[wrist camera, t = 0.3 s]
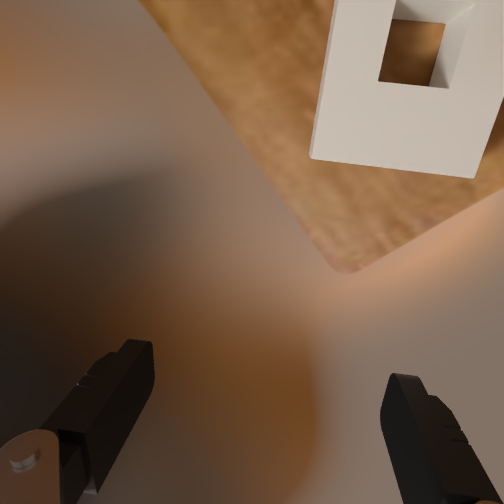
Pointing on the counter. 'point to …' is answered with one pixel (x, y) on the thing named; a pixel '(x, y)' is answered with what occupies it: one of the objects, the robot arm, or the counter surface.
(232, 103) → the counter surface
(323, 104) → the socket board
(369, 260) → the counter surface
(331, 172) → the counter surface
